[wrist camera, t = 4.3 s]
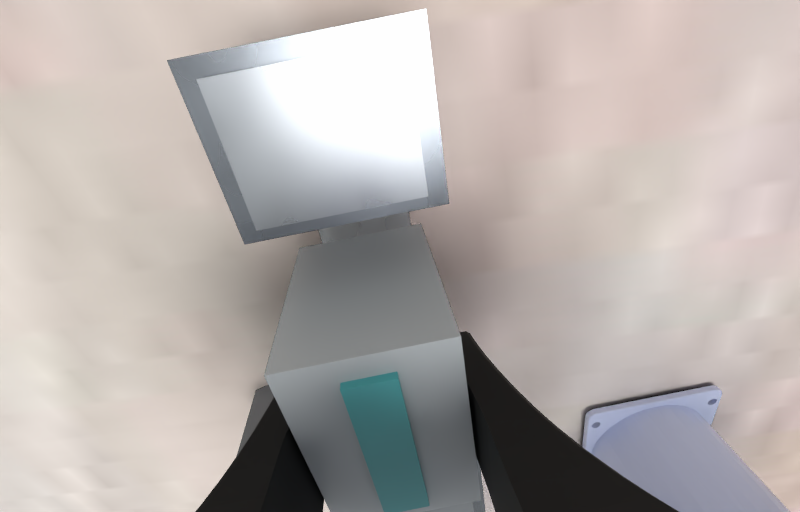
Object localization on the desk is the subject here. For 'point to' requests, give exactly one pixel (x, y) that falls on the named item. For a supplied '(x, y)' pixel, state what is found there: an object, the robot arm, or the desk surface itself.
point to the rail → (323, 132)
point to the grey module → (375, 376)
